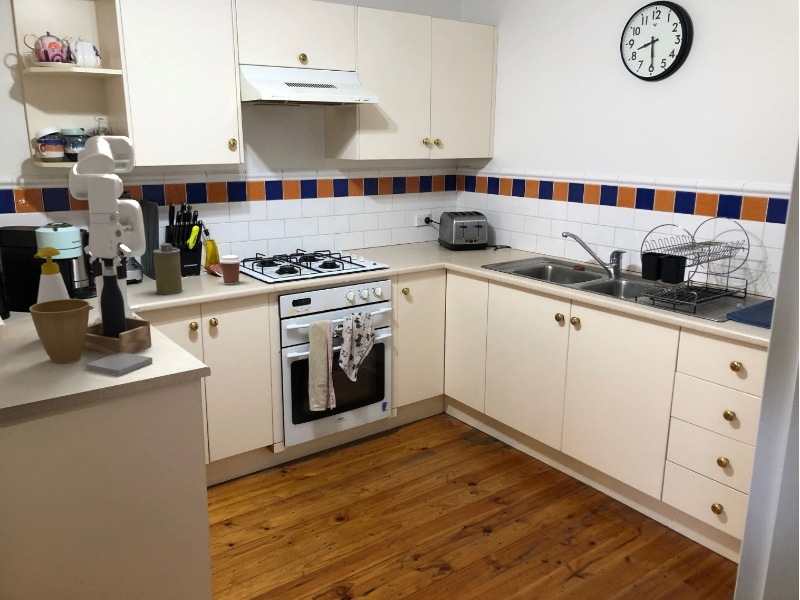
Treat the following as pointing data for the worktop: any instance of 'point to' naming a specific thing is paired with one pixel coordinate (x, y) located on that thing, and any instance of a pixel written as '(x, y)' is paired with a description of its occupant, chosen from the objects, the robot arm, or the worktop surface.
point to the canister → (167, 270)
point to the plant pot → (62, 327)
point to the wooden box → (127, 342)
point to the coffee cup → (230, 269)
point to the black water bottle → (112, 303)
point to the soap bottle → (50, 278)
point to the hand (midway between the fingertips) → (109, 277)
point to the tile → (119, 363)
